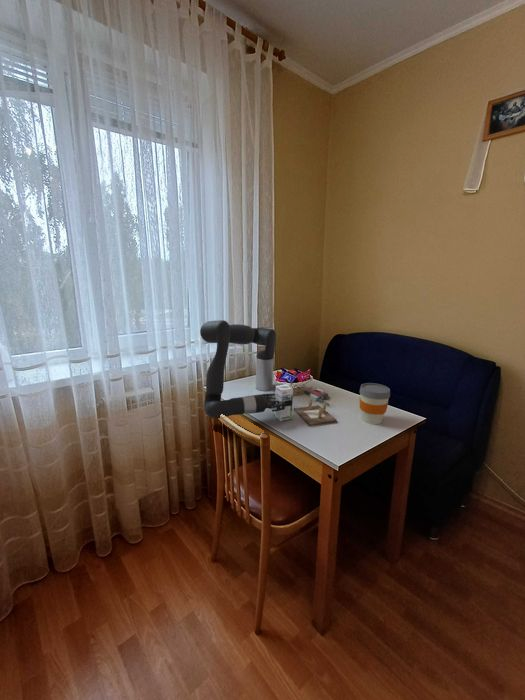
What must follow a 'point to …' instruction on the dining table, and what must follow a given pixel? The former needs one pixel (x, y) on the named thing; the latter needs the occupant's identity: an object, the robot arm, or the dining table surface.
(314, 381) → the dining table surface
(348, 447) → the dining table surface
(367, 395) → the reusable coffee cup
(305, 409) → the pin board
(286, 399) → the syrup box
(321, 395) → the walkie-talkie
